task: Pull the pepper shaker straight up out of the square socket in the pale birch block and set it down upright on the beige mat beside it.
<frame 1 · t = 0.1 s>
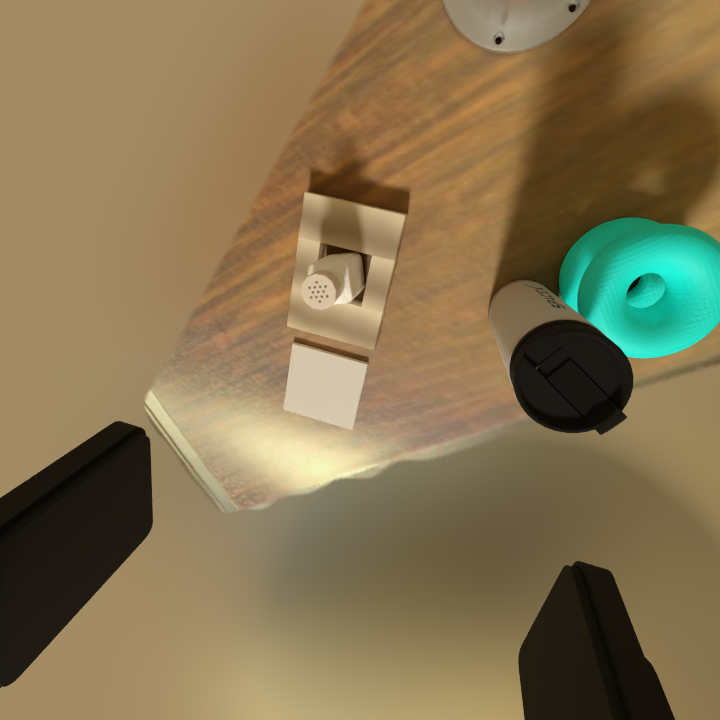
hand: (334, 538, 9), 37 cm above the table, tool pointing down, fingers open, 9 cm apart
travel mug: (521, 311, 42), on the table
beige mat: (324, 385, 50), on the table
socket block: (346, 271, 45), on the table
donuts: (613, 272, 39), on the table
pepper shaker: (346, 271, 45), resting in socket block
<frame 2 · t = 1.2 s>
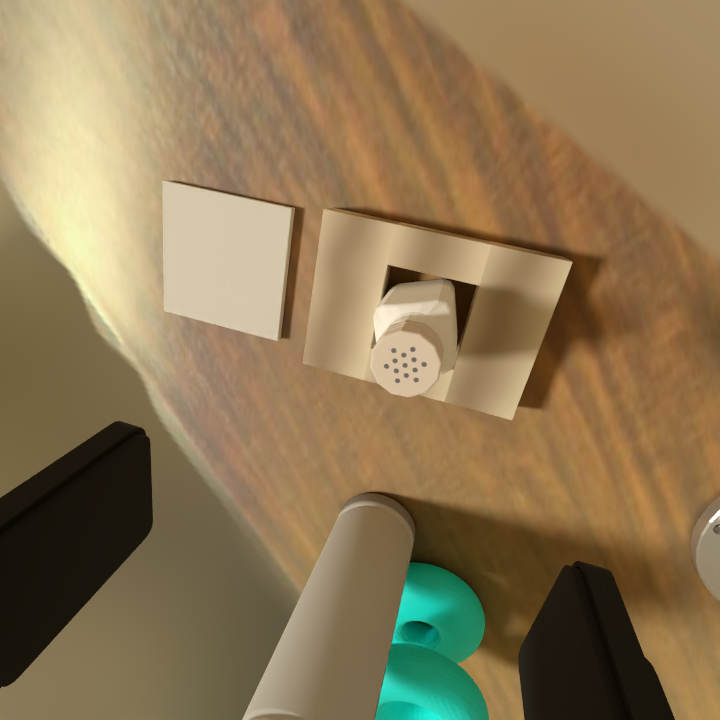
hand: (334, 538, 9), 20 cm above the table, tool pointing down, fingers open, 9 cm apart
travel mug: (377, 522, 35), on the table
beige mat: (226, 262, 29), on the table
socket block: (424, 310, 27), on the table
donuts: (424, 596, 37), on the table
pepper shaker: (425, 309, 27), resting in socket block
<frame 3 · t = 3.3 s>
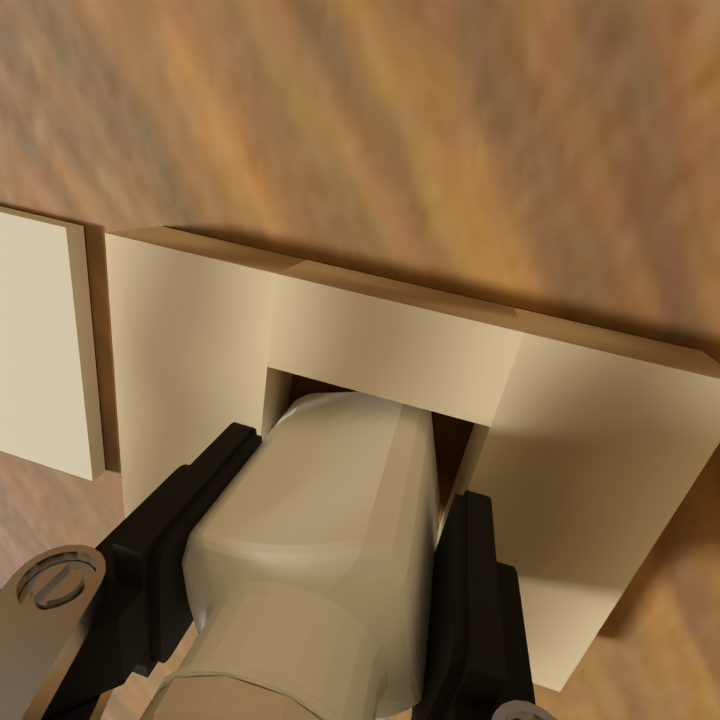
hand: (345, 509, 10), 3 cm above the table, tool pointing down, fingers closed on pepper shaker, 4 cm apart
socket block: (370, 443, 13), on the table
pepper shaker: (371, 439, 13), resting in socket block, touching gripper
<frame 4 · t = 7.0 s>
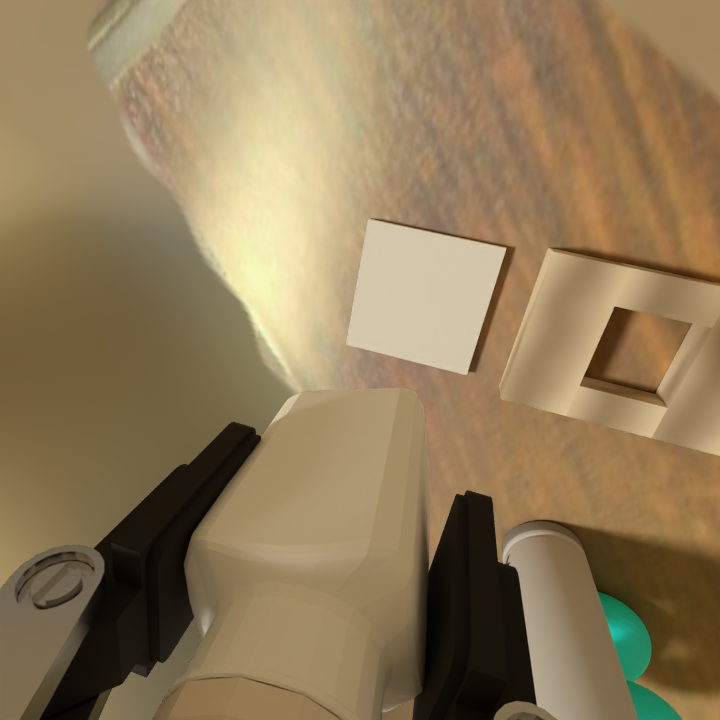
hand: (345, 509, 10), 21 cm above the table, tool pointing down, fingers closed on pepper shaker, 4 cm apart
travel mug: (539, 548, 35), on the table
beige mat: (420, 298, 29), on the table
socket block: (630, 347, 28), on the table
donuts: (577, 621, 37), on the table
pepper shaker: (363, 436, 13), point 18 cm above the table, touching gripper
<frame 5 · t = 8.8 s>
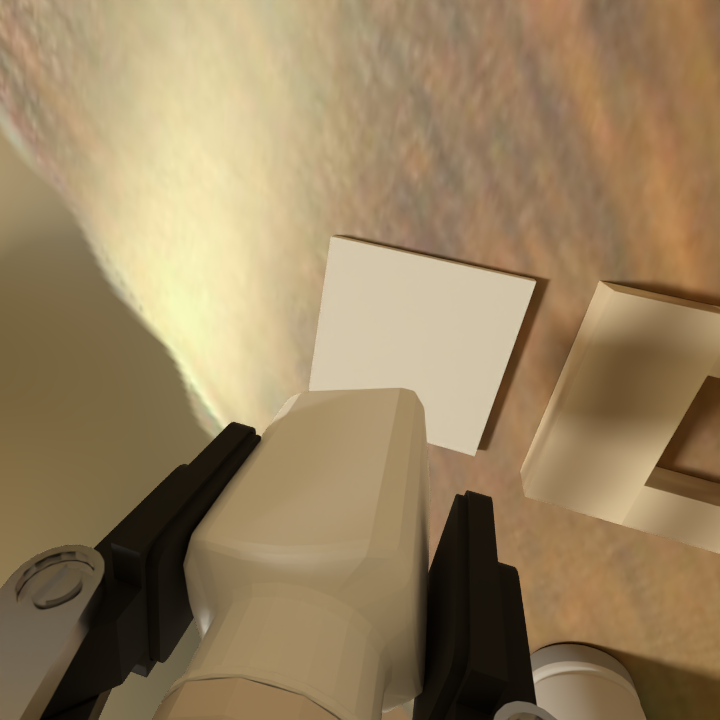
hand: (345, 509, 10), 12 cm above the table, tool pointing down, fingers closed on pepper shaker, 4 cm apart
travel mug: (570, 674, 26), on the table
beige mat: (408, 348, 21), on the table
socket block: (718, 427, 19), on the table
pepper shaker: (363, 437, 13), point 8 cm above the table, touching gripper
when the fingers open (5 cm above the table, at t = 10.5 s): pepper shaker drops 1 cm, resting on beige mat.
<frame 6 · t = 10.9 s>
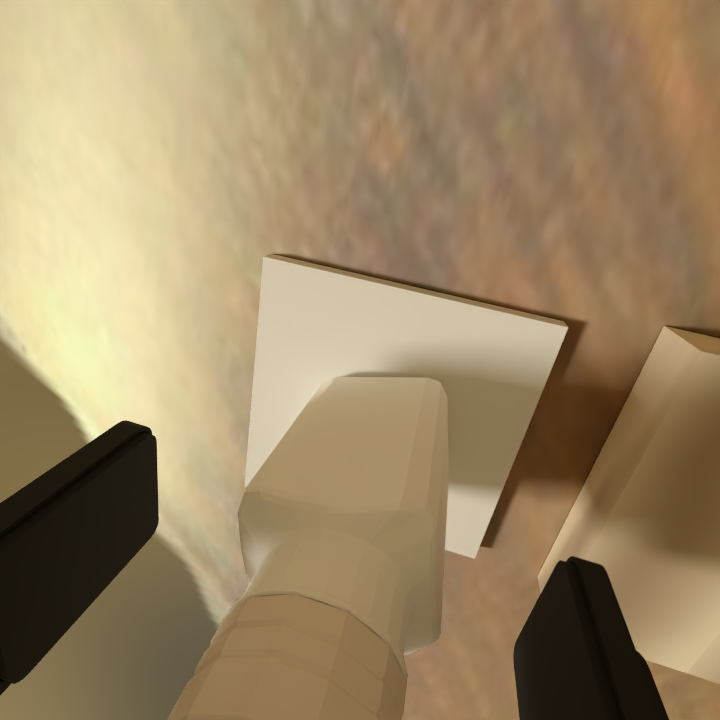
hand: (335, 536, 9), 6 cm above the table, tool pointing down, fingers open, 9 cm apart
beige mat: (381, 412, 15), on the table
pepper shaker: (388, 422, 14), resting on beige mat
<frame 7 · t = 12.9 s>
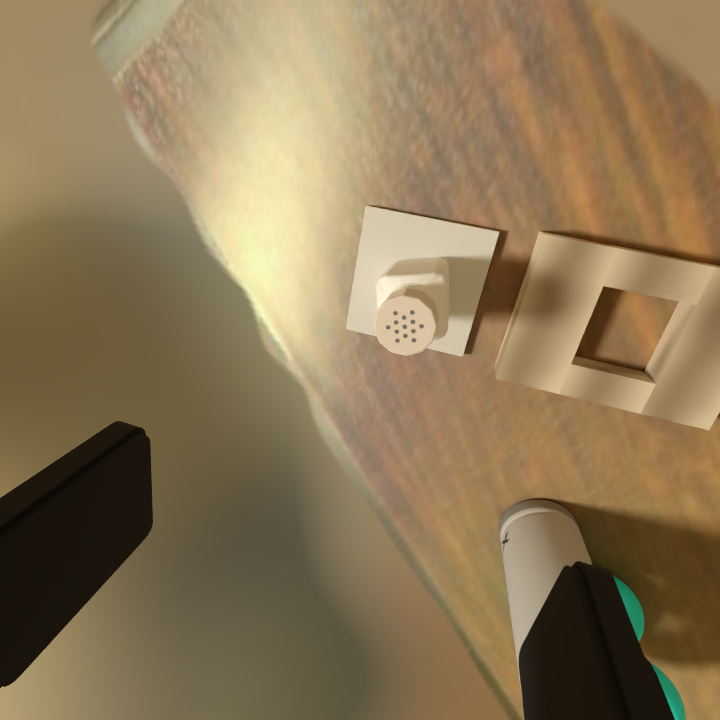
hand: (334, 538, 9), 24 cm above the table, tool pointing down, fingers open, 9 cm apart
travel mug: (535, 526, 36), on the table
beige mat: (417, 282, 30), on the table
socket block: (619, 326, 29), on the table
donuts: (573, 597, 38), on the table
pepper shaker: (420, 285, 30), resting on beige mat
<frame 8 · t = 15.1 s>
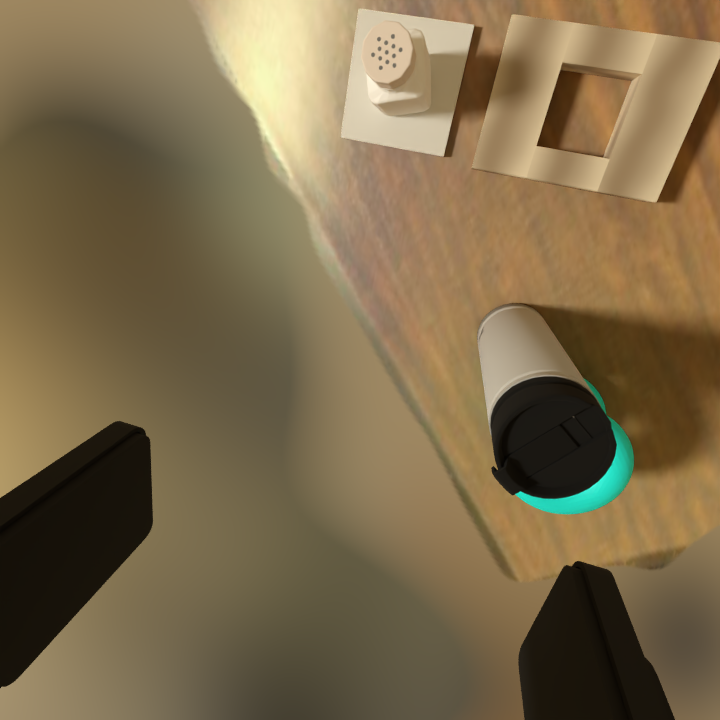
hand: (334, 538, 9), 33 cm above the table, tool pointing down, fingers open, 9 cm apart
travel mug: (509, 335, 40), on the table
beige mat: (403, 86, 34), on the table
socket block: (579, 116, 33), on the table
donuts: (544, 409, 42), on the table
pepper shaker: (406, 87, 34), resting on beige mat
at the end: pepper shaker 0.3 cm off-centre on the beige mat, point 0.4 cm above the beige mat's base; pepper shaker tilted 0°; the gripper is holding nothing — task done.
